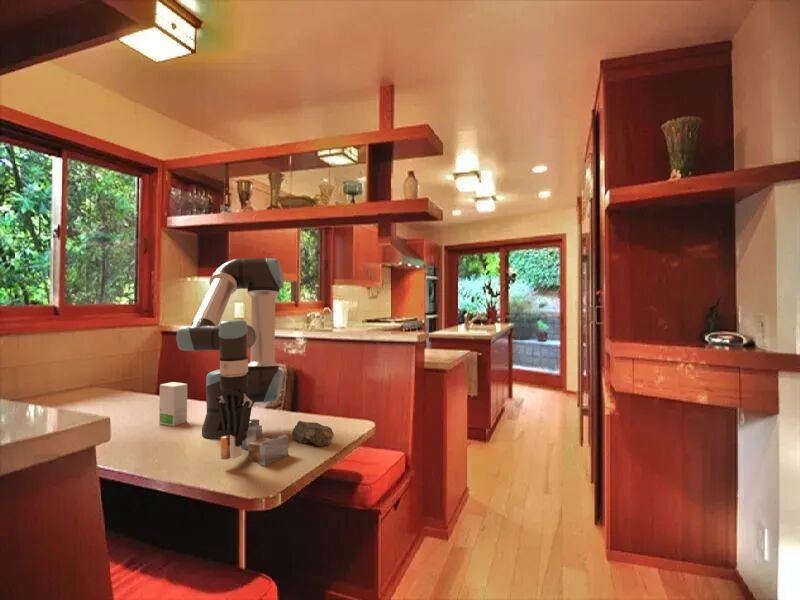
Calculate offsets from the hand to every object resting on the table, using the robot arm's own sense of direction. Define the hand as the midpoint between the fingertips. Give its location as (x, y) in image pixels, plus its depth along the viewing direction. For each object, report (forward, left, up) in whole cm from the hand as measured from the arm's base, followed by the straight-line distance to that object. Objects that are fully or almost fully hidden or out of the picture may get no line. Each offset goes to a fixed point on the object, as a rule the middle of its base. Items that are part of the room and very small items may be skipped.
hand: (235, 456), depth 123 cm
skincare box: (-60, +24, -4) cm, 64 cm away
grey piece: (-5, +14, -4) cm, 15 cm away
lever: (-7, +10, -1) cm, 12 cm away
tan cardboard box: (-1, +11, -4) cm, 12 cm away
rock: (+5, +29, -4) cm, 30 cm away
